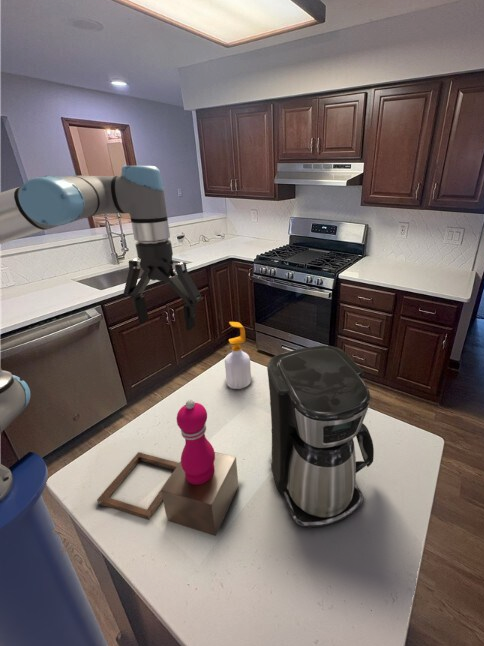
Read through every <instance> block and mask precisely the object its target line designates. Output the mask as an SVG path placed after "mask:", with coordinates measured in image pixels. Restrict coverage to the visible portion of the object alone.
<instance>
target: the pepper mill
mask: <svg viewBox="0 0 484 646" xmlns="http://www.w3.org/2000/svg"><path fill="white" fill-rule="evenodd" d="M207 419H208V412H207V409H206V407H205V406H204V405H203V404H201V403H199V402H195V401H194V399H188V400H187V401H186V402H185V404H184V405H182V406H181V407H180V408H179V410H178V412H177V414H176V425H177V426H178V428H179V429H180V432H181V437H182V438H184V441H185V444H184V446H183V449H182V451H181V456H180V462H181V466H182V469H183V470H184V471H185V476H186V479H187V481H188V482H189V483H191V484H194V485H199V484H203V483H205V482H207V481H208V480H209V479H210V478H211V477H212V476H213V474H214V460H215V452H216V451H215V448H214V446H213V445H212V444H211V442H210V441H209V440H208V439H207V438H206V435H205V433H206V432H207Z"/></svg>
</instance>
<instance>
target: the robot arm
mask: <svg viewBox="0 0 484 646" xmlns="http://www.w3.org/2000/svg"><path fill="white" fill-rule="evenodd" d="M166 205H167V204H166V196H165V188H164V185H163V180H162V174H161V171H160V169H159V168H158V167H157V166H154V165H123V166H121V175H115V176H114V175H112V176H111V175H110V176H109V175H84V174H83V175H77V174H76V175H75V174H74V175H68V176H65V175H64V176H60V175H58V176H57V175H49V174H48V175H43V176H38V177H33V178H30V179H28V180H26V181H25V182H24V183H23V184H22V186H18V187H14V188H11V189H8V190H5V191H1V192H0V245H2V244H5V243H9V242H12V241H15V240H18V239H21V238H25V237H28V236H30V235H35V234H37V233H40V232H44V231H46V230H51V229H53V228H54V229H55V228H57V227H60V226H65V225H68V224H70V223H71V224H72V223H73V222H77V221H80V220H84V219H87V218H88V219H89V218H91V217H95V216H99V215H107V214H109V215H110V214H128V215H129V217H130V222H131V227H132V233H133V239H134V241H137V242H136V243H135V250H136V254H137V257H136V258H133V259H129V261H128V273H127V277H126V280H125V284H124V285H125V286H124V289H123V295H124V296H126V297H127V296H128V297H130V299H132V303H133V308H134V310H135V311H136V315H137V319H138V323H139V324H144V323H145V322H147V321H149V320H150V318H149V313H148V308H147V303H146V296H145V295H143V293H144V292H145V290H146V288H147V286H148V285H149V283H150V281H159V282H165V284H167V285H169V286H170V287H171V288H172V290H173V291H174V292H175V293H176V294H177V296H179V298H180V299H181V300H182V301H183V302H184V303H185V304H183V306H182V308H183V316H184V322H185V328H186V331H190V330H192V329H193V328H194V327H196V320H195V316H196V315H197V307H196V305H197V303H199V302H201V301H203V295H201V293H200V291H199V289H198V287H197V285H196V284H195V282H194V280H193V278H192V276H191V275H190V273H189V271H188V267H187V264H186V262H185V261H181V262H176V263H175V262H174V260H173V256H174V255H173V254H174V252H173V244H172V241H171V240H170V238H171V232H170V225H169V219H168V218H169V217H168V214H167V213H168V212H167V206H166ZM141 270H142V273H141ZM140 273H141V275H140ZM139 276H140V277H139ZM30 400H31V389H30V387H29V385H28V384H27V382H26V381H25V380H21V377H19V376H17V375H14V374H12V372H10V371H7V370H3V369H2V367H1V366H0V434H2V433H3V432H4V430H5V429H7V427H9V425H10V424H12V423H13V421H15V419H17V418H18V417H19V416H20V415H21V414H22V413H23V412H24V410H25V408H26V407H27V406H28V405H29V403H30ZM8 468H9V467H6V466H5V465H3V464H2V463H0V503H1V502H2V501H3V500H4V499H5V498H6V497H7V496H8V494H9V493H10V491H11V490H12V488H13V485H14V477H13V475H12V473H11V471H10V470H9V469H8Z"/></svg>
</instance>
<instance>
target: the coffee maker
mask: <svg viewBox="0 0 484 646" xmlns="http://www.w3.org/2000/svg"><path fill="white" fill-rule="evenodd" d="M266 366H267V367H266V369H267V379H268V390H269V401H270V403H269V404H270V420H271V421H270V422H271V464H270V466H271V471H272V475H273V478H274V483H275V484H276V488H277V491H278V492H279V493H280V494H282V495H283V497H284V500H285V501H286V504H287V507H288V510H289V513H290V516H291V519H292V520H293V522H294V523H295V524H296V525H298V526H299V527H303V528H307V527H308V528H317V527H324V526H328V525H331V524H335V523H338V522H340V521H342V520H343V519H345V518H347V517H349V516H350V515H352V514H353V513H354V512H355V511H356V510H357V509H358V508H360V507H361V505H362V503H363V501H364V497H363V493H362V491H361V489H360V488H359V486H358V485H357V483H356V477H357V476H356V475H357V473H358V472H360V471H361V470H363V468H365V467H367V468H369V467H370V466H371V465H372V463H373V462H374V458H375V455H374V454H375V451H374V443H373V442H374V441H373V438H372V436H371V432H370V431H369V429H368V427H367V426H366V425H365V423H364V420H365V419H366V416H367V413H368V410H369V407H370V403H371V393H370V390H369V387H368V386H367V384H366V382H365V380H363V378H364V374H365V373H364V371H363V370H362V369H361V367H360V366H359V365H358V364H357V363H356V362H355V360H353V359H352V358H351V357H350V356H349V355H348V353H347V354H346V352H345V351H343V350H342V349H340V348H338V347H336V346H333V345H316V346H315V345H314V346H308V347H303V348H298V349H293V350H290V351H289V350H288V351H285V352H282V353H279V354H277V355H274V356H272V357H271V358H270V359H269V360H268V362H267V365H266ZM355 438H356V440H357V444H358V447H359V451H360V453H361V457H362V460H359V461H356V458H357V457H356V448H355V447H356V446H355V441H354V439H355Z"/></svg>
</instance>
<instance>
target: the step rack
mask: <svg viewBox="0 0 484 646" xmlns="http://www.w3.org/2000/svg"><path fill="white" fill-rule="evenodd" d="M214 452H215V460H214V474H213V476H212V477H211V478H210V479H209V480H208V481H207V482H205V483H203V484H199V485H194V484H191V483H189V482H188V481H187V479H186V476H185V471H184V470H183V469H182V466H181V461H180V462H177V461H174V460H169V459H165V458H161V457H159V456H158V457H157V456H154V455H150V454H146V453H144V452H143V453H142V452H137V453H136V455H135V456H133V458H132V459H131V460H130V461H129V462H128V463H127V465H125V467H124V468H123V469H122V470H121V472H119V474H118V475H117V476H116V477H115V478H114V480H113V481H111V483H110V484H109V485H108V486H107V488H106V489H105V490H104V491H103V492H102V493H101V495H99V497H98V498H97V499H96V501H97V504H98V505H100V506H104V507H107V508H110V509H112V510H115V511H119V512H122V513H125V514H129V515H131V516H134V517H138V518H140V519H144V520H148V521H150V520H151V518H152V517H153V515H154V514H155V512H156V511H157V509H158V508H159V506H160V505H161V503H162V502H163V507H164V511H165V516H166V520H167V522H170V523H174V524H177V525H180V526H183V527H186V528H189V529H192V530H195V531H198V532H201V533H205V534H207V535H211V536H214V537H216V536H217V534H218V532H219V530H220V528H221V526H222V524H223V522H224V519H225V517H226V514H227V512H228V510H229V508H230V506H231V504H232V502H233V499H234V497H235V495H236V493H237V490H238V489H239V477H238V466H237V457H236V456H232V455H229V454H225V453H220V452H216V451H214ZM140 462H145V463H148V464H151V465H155V466H158V467H163V468H165V469H170V470H173V471H172V473H171V474H170V476H169V477H168V478H167V480H166V482H165V483H164V484H163V486H162V487H161V489H160V490H159V492H158V493H157V494H156V495H155V498H154V499H153V500H152V502H151V503H150V505H148V507H147V508H143V507H140V506H137V505H133V504H130V503H127V502H124V501H121V500H117V499H114V498H111V496H112V495H113V494H114V493H115V491H116V490H117V489H118V488H119V486H120V485H121V484H122V483H123V481H125V479H126V478H127V477H128V476H129V474H130V473H131V472H132V471H133V470H134V468H136V466H137V465H138V464H139V463H140Z"/></svg>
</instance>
